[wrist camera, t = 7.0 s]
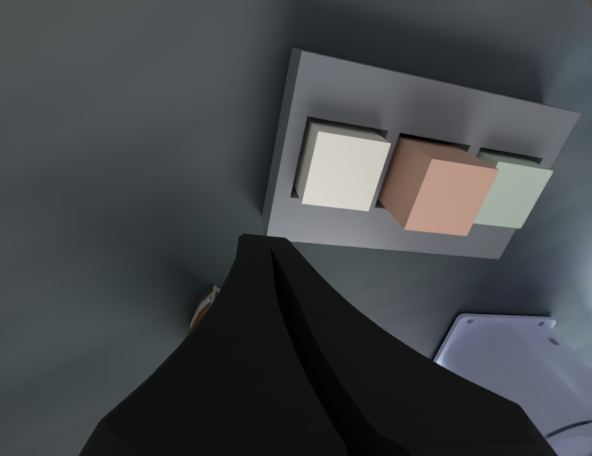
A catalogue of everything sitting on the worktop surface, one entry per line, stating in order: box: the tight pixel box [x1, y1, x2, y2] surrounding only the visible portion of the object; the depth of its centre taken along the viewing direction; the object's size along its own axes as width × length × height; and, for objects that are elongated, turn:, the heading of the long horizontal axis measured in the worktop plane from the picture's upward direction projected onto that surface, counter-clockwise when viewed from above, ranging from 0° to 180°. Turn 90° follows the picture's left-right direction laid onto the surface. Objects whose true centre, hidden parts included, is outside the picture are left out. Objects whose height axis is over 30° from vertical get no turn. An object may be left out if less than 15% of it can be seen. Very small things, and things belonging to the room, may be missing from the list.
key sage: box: [474, 147, 553, 229], centre depth 20 cm, size 3×3×4 cm
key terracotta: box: [377, 136, 499, 236], centre depth 17 cm, size 3×3×4 cm
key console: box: [262, 47, 581, 259], centre depth 19 cm, size 15×9×2 cm, turn 78°
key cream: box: [293, 116, 391, 211], centre depth 18 cm, size 3×3×4 cm
